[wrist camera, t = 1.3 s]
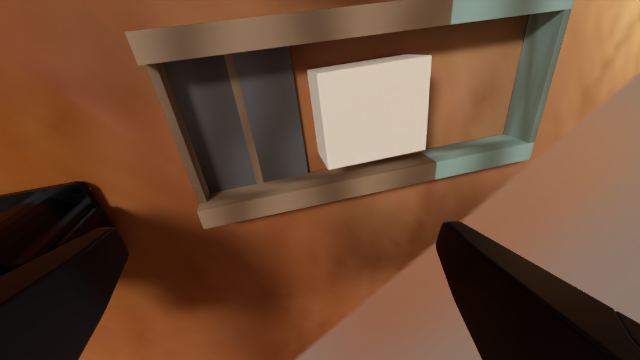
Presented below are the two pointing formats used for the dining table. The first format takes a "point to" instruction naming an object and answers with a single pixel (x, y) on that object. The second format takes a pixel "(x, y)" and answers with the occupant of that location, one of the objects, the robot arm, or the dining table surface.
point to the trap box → (282, 107)
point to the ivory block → (370, 108)
